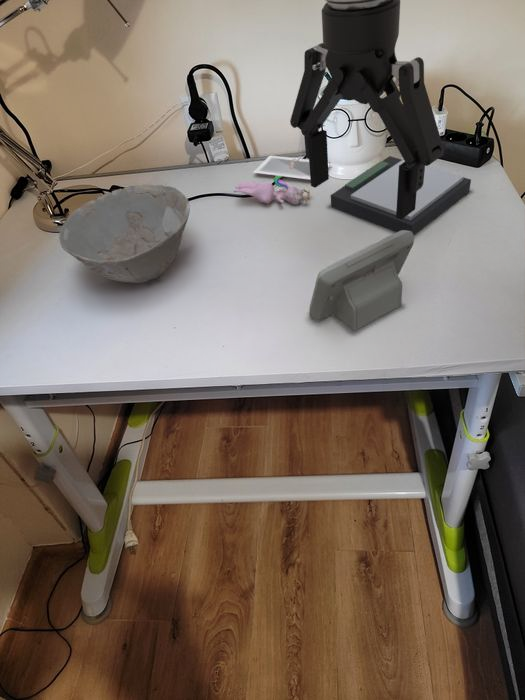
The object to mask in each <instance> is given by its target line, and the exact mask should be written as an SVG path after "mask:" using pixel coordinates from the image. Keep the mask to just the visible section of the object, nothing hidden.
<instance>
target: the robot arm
mask: <svg viewBox="0 0 525 700" xmlns="http://www.w3.org/2000/svg"><path fill="white" fill-rule="evenodd" d="M324 1H325V2H326V3H325V4H324V5H323V7H322V9H321V27H322V28H321V31H322V42H321V43H318V44H317V45H314V46H312V47H310V48H308V49H306V50H305V52H304V58H303V59H304V60H303V62H304V63H303V64H304V65H303V66H304V69H303V70H304V71H303V73H302V74H303V75H302V78H301V81H300V84H299V88H298V91H297V95H296V99H295V102H294V106H293V110H292V112H291V113H292V114H291V117H290V119H289V122H290V125H291V127H292V128H293V129H296V128H298V129H299V130H300V131H301V134H302V135H303V137H304V149H305V156H306V159H308V160H309V166H310V179H311V180H310V187H312V188H314V189H315V188H317V187H319V186H321V185H322V184H324V183H325V182H326V181H328V180H329V178H330V176H329V175H330V173H329V167H328V162H329V156H328V155H329V154H328V132H327V130H325V129H321V128H323V127H325V124H324V123H325V122H326V121H327V119H328V118H329V116H330V115H331V114H332V112H333V111H334V110H335V108H336V107H337V105H338V104H339V102H340V101H341V99H342V98H343V100H345V101H356V102H357V103H359V104H362V105H367V104H368V105H369V107H370V109H371V110H372V112H374V113H377V115H378V116H379V118H380V119H381V121H382V123H383V125H384V127H385V128H386V130H387V132H388V133H389V136H390V138H391V139H392V141H393V143H394V144H395V147H396V148H397V150H398V152H399V154H400V155H401V157H402V160H403V159H404V160H405V162H404V163H402V164H401V165H399V175H398V192H397V209H396V218H398V219H401V220H402V219H403V218H404V217H406V216H407V215H408V214H410V213H411V212H412V211H414V210H415V205H416V194H417V191H418V190H419V189H421V188H422V186H423V182H424V172H425V166H430V165H431V164H433V163H434V162H436V161H437V160H438V159H440V158H441V157H442V156H444V154H445V148H444V145H443V144H444V143H443V141H442V138H441V134H440V132H439V128H438V125H437V122H436V118H435V115H434V111H433V107H432V104H431V102H430V97H429V94H428V90H427V87H426V85H425V84H426V83H425V61H424V59H423V58H422V57H419V56H418V57H417V56H416V57H415V58H414V59H412V60H409V61H408V60H406V61H405V60H398V59H397V56H396V46H397V43H398V42H397V41H398V39H399V34H400V19H401V18H400V16H401V0H324ZM326 70H327V71H328V73H329V75H330V77H331V78H330V79H329V81H328V82H327V84H326V86H325V87H324V89H323V91H322V95H321V97H320V98H319V100H317V99H318V96H319V93H320V89H321V87H322V83H323V81H324V77H325V75H326ZM394 78H395V80H394ZM384 93H385V95H386V96H384V97H381V96H382V95H383V94H384ZM320 129H321V130H320Z"/></svg>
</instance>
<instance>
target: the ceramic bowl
mask: <svg viewBox="0 0 525 700" xmlns="http://www.w3.org/2000/svg"><path fill="white" fill-rule="evenodd" d="M190 211H191V206H190V201H189V199H188V198H187V196H186V195H185V194H184V193H182V192H181V191H180V190H179V189H177V188H176V187H174V186H169V185H165V186H164V185H162V184H160V185H159V184H157V185H155V184H137V185H130V186H127V187H126V186H125V187H123V188H118V189H114V190H112V191H111V192H106V193H104V194H101V195H99V196H97V197H96V199H95V198H94V199H92V200H89V201H87V202H86V203H84V204H82V206H79V208H76V209H75V210H74V211H73V212H72V213H71V214H70V215H69V216H68V217H67V218H66V219H65V221H64V222H63V224H62V226H61V228H60V230H59V233H58V240H59V244H60V247H61V248H62V250H63V251H65V252H66V253H68V254H69V255H71V256H72V257H74V258H75V259H76V260H77V261H79V262H80V263H81V264H83V265H84V266H86V267H88V268H89V269H90V270H92V271H94V272H96V273H97V274H99V275H100V276H103V277H105V278H107V279H109V280H111V281H115V282H125V283H134V284H142V283H146V282H148V281H152V280H155V279H157V278H159V277H161V276H162V275H164V273H165V272H166V271H167V270H168V268H169V267H170V265H171V264H172V262H173V261H174V260H175V258H176V256H177V254H178V252H179V249H180V246H181V242H182V238H183V233H184V231H185V229H186V225H187V223H188V220H189V216H190Z"/></svg>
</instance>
